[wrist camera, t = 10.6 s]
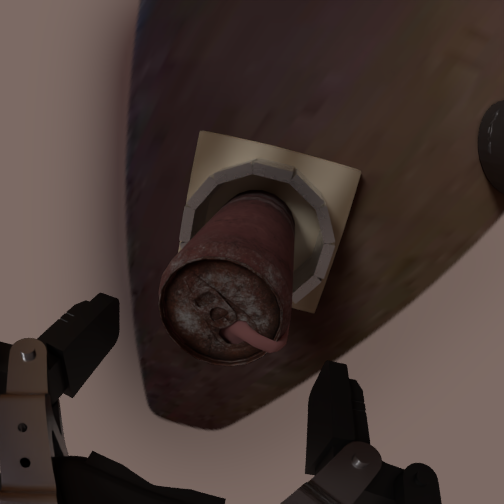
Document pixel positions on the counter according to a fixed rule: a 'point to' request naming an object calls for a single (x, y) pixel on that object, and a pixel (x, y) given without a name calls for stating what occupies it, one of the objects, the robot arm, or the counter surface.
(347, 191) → the stand
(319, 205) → the collar
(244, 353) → the can
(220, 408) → the counter surface
